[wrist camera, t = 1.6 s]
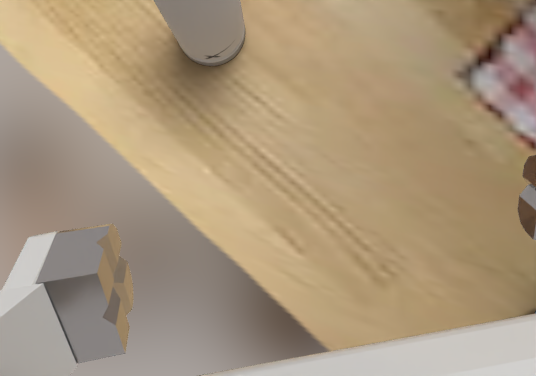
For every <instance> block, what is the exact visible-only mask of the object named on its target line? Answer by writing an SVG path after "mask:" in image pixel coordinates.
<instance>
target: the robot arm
mask: <svg viewBox="0 0 536 376" xmlns="http://www.w3.org/2000/svg"><path fill="white" fill-rule="evenodd" d="M523 178H524V179H525V181H526V182H527V184H528V186H527V187H526V188H525V189H524V191H523V192H522V193H521V194H520V195H519V204H518V213H519V217H520V222H521V224H522V226H523V228H524V229H525V231H526V232H527V233H528V234H529V236H530V237H531V238H532V239H534V240H536V155H534V156H530V157H528V159H527V161H526V163H525V165H524V170H523ZM120 248H121V240H120V238H119V234H118V231H117V228H116V227H115V226H114V225H113V224H107V225H101V226H93V227H87V228H80V229H73V230H66V231H60V232H57V231H56V232H51V233H45V234H40V235H35V236H31V237H29V238H28V239H27V241H26V243H25V245H24V247H23V249H22V251H21V253H20V255H19V257H18V259H17V261H16V263H15V265H14V267H13V269H12V271H11V273H10V275H9V277H8V279H7V281H6V283H5V285H4V287H3V289H2V290H0V376H70V375H71V374H72V372H73V371H74V370H75V369H76V367H77V363H82V362H87V361H91V360H96V359H101V358H106V357H111V356H116V355H120V354H125V351H126V346H127V338H128V333H129V323H128V320H127V317H126V315H127V314H128V313H129V312H130V311H131V310H132V305H133V283H132V278H131V274H130V269H129V266H128V263H127V261H126V260H124V259H123V258H121V257H120V256H119V253H120ZM199 376H536V314H530V315H525V316H519V317H514V318H509V319H503V320H498V321H492V322H487V323H481V324H476V325H471V326H465V327H460V328H454V329H449V330H443V331H438V332H433V333H427V334H422V335H416V336H411V337H405V338H400V339H394V340H389V341H384V342H378V343H373V344H367V345H362V346H356V347H351V348H346V349H340V350H335V351H329V352H324V353H319V354H314V355H308V356H302V357H297V358H291V359H286V360H280V361H275V362H270V363H264V364H259V365H253V366H248V367H243V368H237V369H232V370H227V371H221V372H215V373H210V374H205V375H199Z"/></svg>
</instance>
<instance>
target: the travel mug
mask: <svg viewBox="0 0 536 376" xmlns="http://www.w3.org/2000/svg"><path fill="white" fill-rule="evenodd" d="M154 2H155V3H156V5H157V7H158V9H159V10H160V12H161V14H162V16H163V17H164V19H165V21H166V23H167V24H168V26H169V28H170V29H171V31H172V33H173V35H174V36H175V38H176V40H177V42H178V43H179V45H180V47H181V48H182V50H183V51H184V53H185V54H186V55H187V56H188V57H189V58H190V59H191V60H193V61H194V62H196V63H198V64H201V65H206V66H217V65H221V64H224V63H226V62H228V61H230V60H231V59H232V58H234V57H235V56H236V55H237V54H238V52H239V51H240V49H241V48H242V46H243V43H244V39H245V25H244V19H243V13H242V8H241V2H240V0H154Z"/></svg>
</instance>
